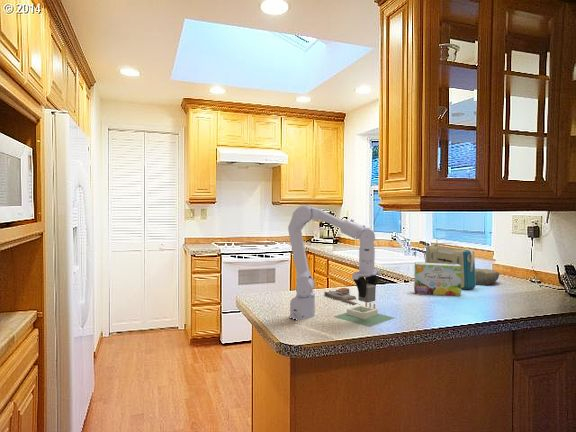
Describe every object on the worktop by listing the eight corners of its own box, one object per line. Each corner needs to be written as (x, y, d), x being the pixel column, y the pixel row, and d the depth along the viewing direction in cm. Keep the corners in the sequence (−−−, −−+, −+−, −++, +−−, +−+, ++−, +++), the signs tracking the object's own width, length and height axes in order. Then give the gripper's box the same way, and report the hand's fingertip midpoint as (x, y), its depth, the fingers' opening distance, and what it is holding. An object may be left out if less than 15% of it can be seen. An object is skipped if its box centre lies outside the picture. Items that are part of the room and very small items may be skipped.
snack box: (414, 294, 198) (415, 263, 197) (414, 291, 203) (414, 261, 203) (461, 296, 193) (461, 265, 192) (459, 294, 198) (459, 263, 198)
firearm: (386, 301, 179) (359, 305, 171) (385, 306, 179) (359, 310, 172) (345, 287, 204) (320, 290, 196) (344, 292, 204) (320, 295, 197)
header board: (369, 329, 144) (369, 326, 144) (333, 319, 156) (333, 316, 156) (395, 320, 155) (395, 317, 155) (359, 311, 167) (359, 308, 167)
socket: (364, 319, 153) (364, 313, 153) (346, 314, 159) (346, 309, 159) (377, 314, 158) (377, 309, 158) (360, 310, 165) (360, 305, 165)
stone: (461, 282, 225) (461, 268, 225) (483, 279, 234) (483, 265, 234) (484, 287, 213) (484, 272, 213) (506, 283, 222) (506, 269, 221)
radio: (423, 280, 232) (423, 237, 231) (433, 279, 235) (434, 236, 234) (465, 290, 205) (466, 241, 204) (476, 289, 208) (477, 241, 207)
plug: (367, 302, 150) (368, 286, 149) (358, 300, 153) (358, 284, 153) (375, 300, 153) (375, 285, 152) (365, 298, 156) (366, 283, 156)
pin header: (374, 314, 160) (374, 304, 160) (363, 311, 164) (363, 301, 164) (377, 313, 161) (377, 303, 161) (365, 310, 165) (365, 301, 165)
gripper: (363, 263, 145) (362, 301, 145) (386, 259, 154) (386, 294, 155) (348, 261, 150) (347, 297, 150) (371, 257, 159) (371, 291, 160)
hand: (366, 295), depth 153 cm, fingers closed on plug, 4 cm apart
